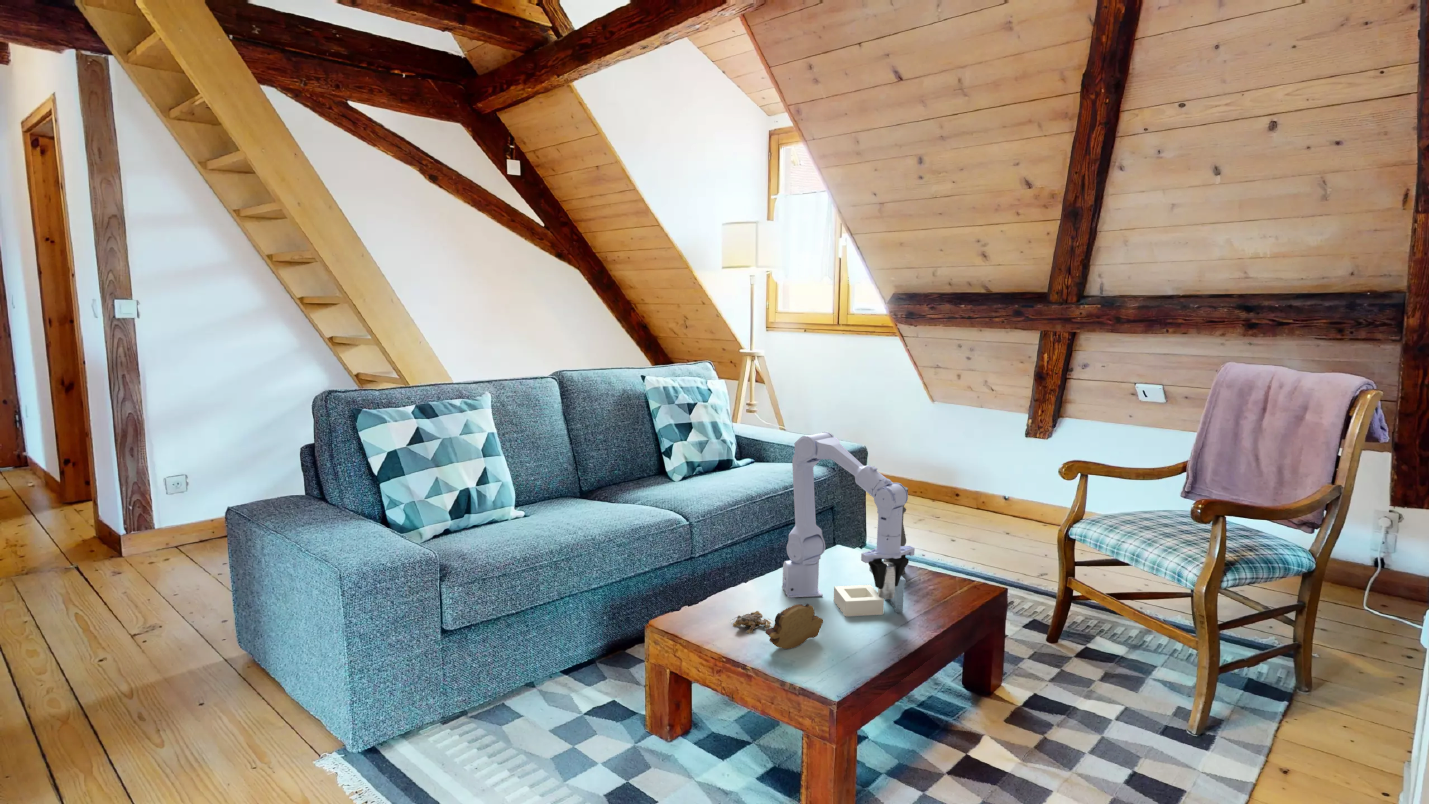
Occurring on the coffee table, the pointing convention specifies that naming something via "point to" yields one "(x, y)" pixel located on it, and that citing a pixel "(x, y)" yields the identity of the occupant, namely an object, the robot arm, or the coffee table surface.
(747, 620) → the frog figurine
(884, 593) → the peg
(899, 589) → the grey arch block
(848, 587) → the socket block
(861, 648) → the coffee table surface
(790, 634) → the wooden carving
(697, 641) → the coffee table surface
